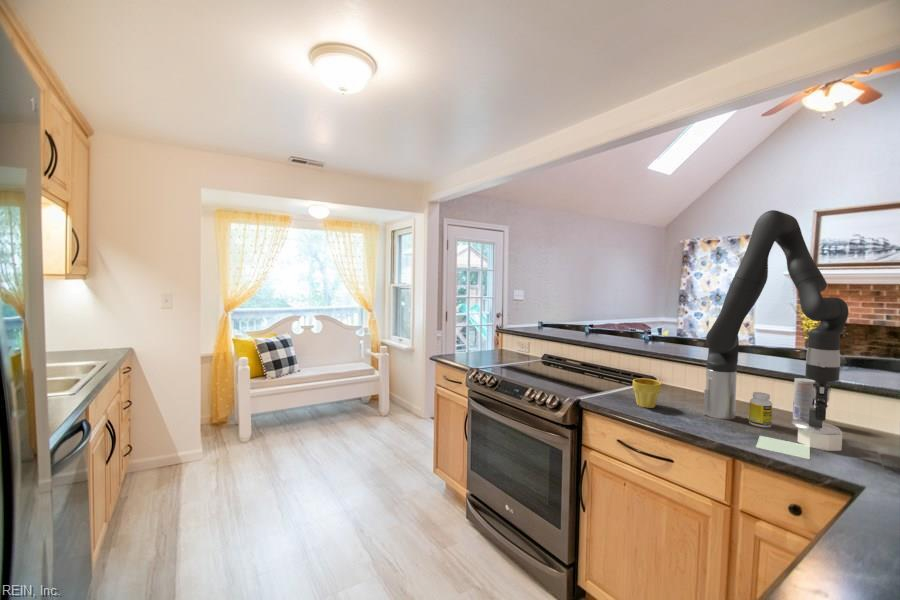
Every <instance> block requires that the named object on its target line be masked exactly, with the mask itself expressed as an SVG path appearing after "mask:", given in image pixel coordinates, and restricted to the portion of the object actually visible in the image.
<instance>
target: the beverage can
mask: <svg viewBox="0 0 900 600" xmlns="http://www.w3.org/2000/svg"><path fill="white" fill-rule="evenodd" d="M813 383H815V384H816V380H815V379H810V378H801V377H799V378H798V377H795V378H794V383H793V403H792V404H793V405H792V406H793V407H792V420H796V419H805V420H809V409H810V407H811V408H815V403H816V401H815V400H814V399H813V398H814V391H813Z"/></svg>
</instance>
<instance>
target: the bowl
mask: <svg viewBox="0 0 900 600" xmlns="http://www.w3.org/2000/svg"><path fill="white" fill-rule="evenodd" d="M797 442H798V443H799V444H803V445H807V446H809V447H810V448H812V449H813V448H814V449H817V450H821V451H827V452H832V451H833V452H835V451H838V452H840V451H842V450H843V431H842V430H840V434H838V435H824V434H817V433H812V432H808V431H804V430H801V429H798V428H797ZM797 442H796V443H797Z"/></svg>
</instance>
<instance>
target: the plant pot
mask: <svg viewBox="0 0 900 600" xmlns="http://www.w3.org/2000/svg"><path fill="white" fill-rule="evenodd" d="M632 389H633V392H634V394H635V395H634V396H635V400H636V405H637V406H638V405H639V406H638V407H641V408H645V407H646V409H653V408H655V407H656V404H657V401H658V398H659V394H660V393H661V391H662V382H660V381H659V380H656V379H651V378H642V377H641V378H634V379H633V380H632Z"/></svg>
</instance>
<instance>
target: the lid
mask: <svg viewBox="0 0 900 600" xmlns="http://www.w3.org/2000/svg"><path fill="white" fill-rule="evenodd" d="M815 415H816V408H815V407H814V408H811V407H810V409H809V420H805V419H796V420H794V419H792V420H791V425H792V426H793V427H794V428H796V429H797V430H798V429H801V430H804V431H808V432H812V433H817V434H824V435H838V434H840V431H841V428H839V427H838V426H836V425H834V424H830V423H827V422H824V421H822V420H817V419H816V418H815Z"/></svg>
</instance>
